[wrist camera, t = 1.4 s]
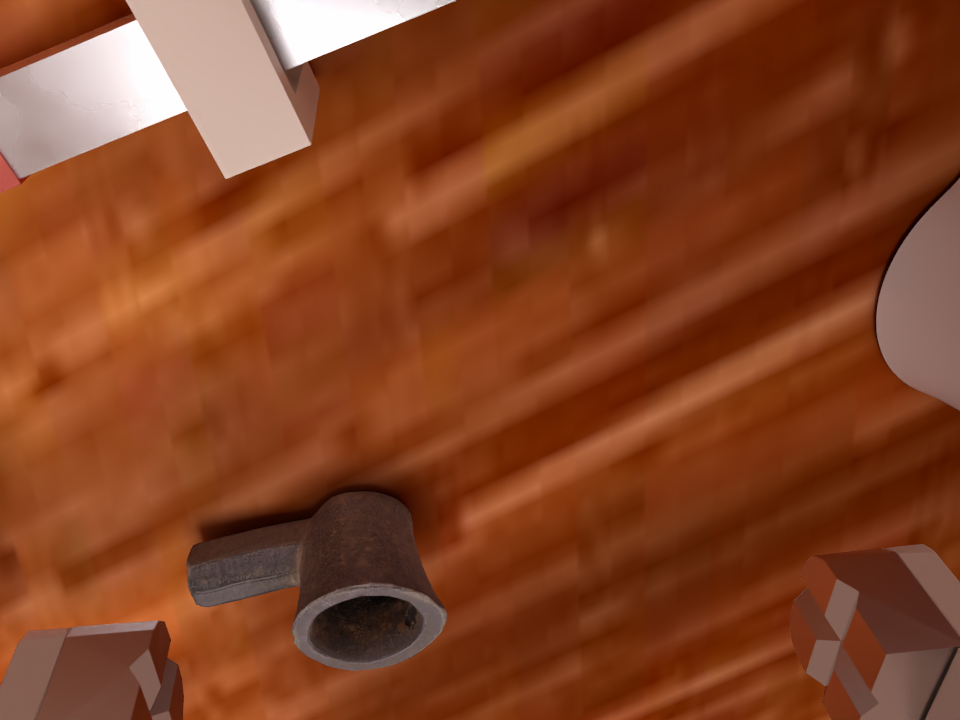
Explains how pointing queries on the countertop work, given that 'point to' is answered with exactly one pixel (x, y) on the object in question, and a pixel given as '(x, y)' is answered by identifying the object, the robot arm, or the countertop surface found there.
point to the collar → (231, 79)
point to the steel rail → (149, 77)
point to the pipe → (332, 580)
